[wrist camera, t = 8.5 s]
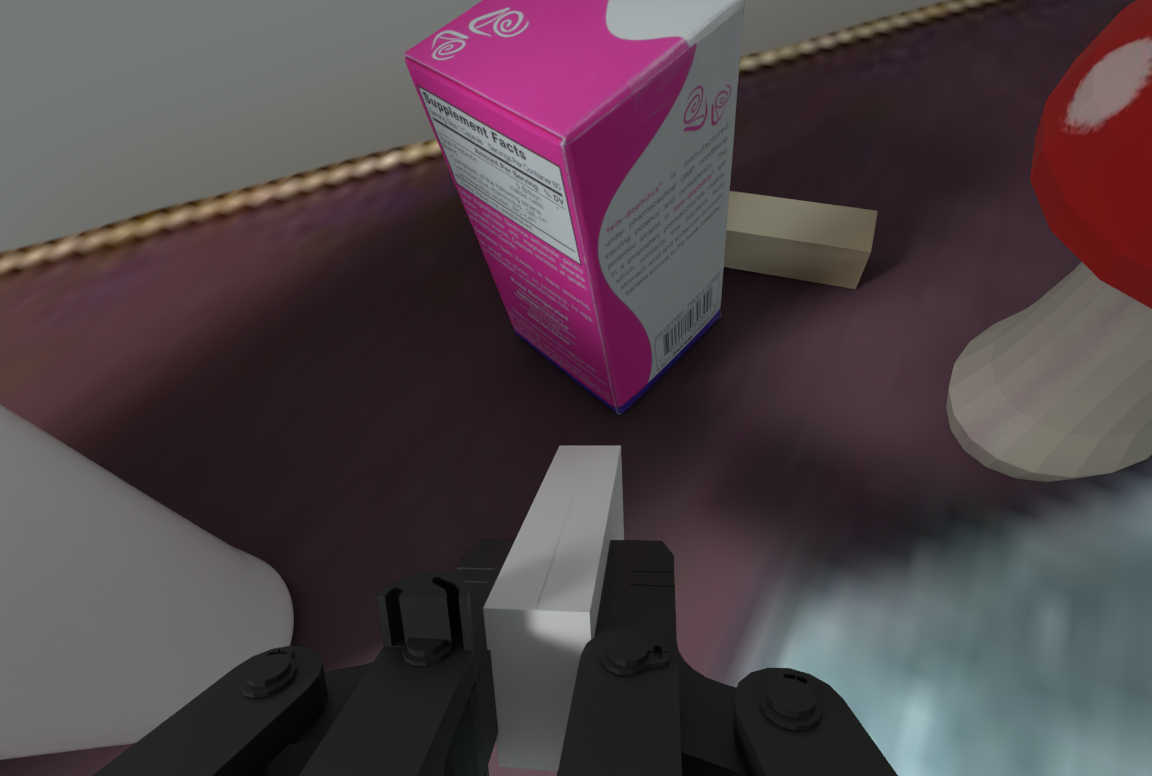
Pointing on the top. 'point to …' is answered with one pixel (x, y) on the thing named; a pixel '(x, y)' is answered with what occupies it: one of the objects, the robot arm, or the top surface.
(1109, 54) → the decorative mushroom
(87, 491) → the drinking glass
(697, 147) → the supplement box
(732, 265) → the bar
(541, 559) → the robot arm
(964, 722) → the top surface
